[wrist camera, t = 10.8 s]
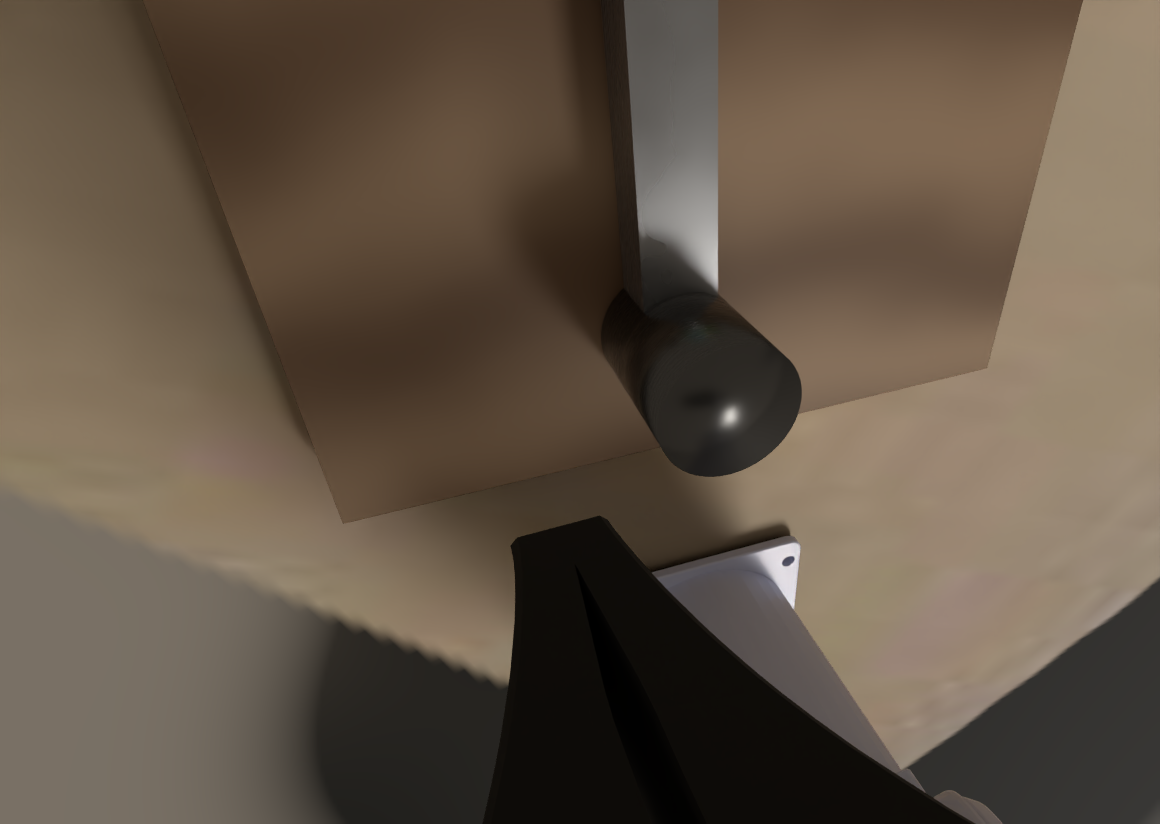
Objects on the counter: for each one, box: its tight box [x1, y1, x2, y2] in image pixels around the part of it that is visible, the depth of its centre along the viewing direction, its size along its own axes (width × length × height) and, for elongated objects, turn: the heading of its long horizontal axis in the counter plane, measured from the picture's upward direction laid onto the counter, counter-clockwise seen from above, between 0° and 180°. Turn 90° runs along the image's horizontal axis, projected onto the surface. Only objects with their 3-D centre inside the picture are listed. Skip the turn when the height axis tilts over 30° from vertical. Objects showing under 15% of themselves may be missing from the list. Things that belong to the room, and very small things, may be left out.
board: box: [143, 0, 1083, 524], centre depth 14 cm, size 22×20×5 cm
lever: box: [601, 0, 802, 477], centre depth 13 cm, size 17×4×4 cm, turn 6°
